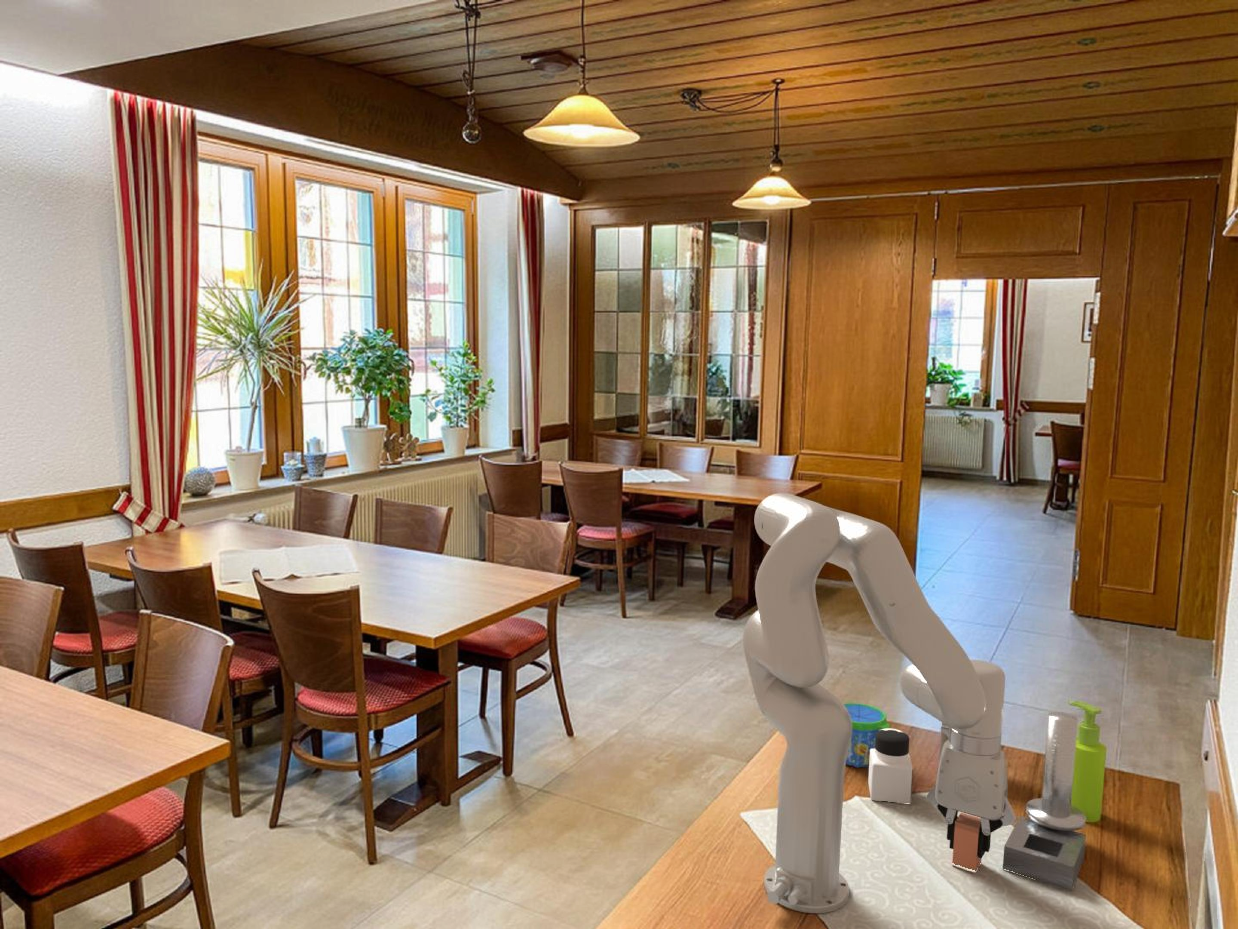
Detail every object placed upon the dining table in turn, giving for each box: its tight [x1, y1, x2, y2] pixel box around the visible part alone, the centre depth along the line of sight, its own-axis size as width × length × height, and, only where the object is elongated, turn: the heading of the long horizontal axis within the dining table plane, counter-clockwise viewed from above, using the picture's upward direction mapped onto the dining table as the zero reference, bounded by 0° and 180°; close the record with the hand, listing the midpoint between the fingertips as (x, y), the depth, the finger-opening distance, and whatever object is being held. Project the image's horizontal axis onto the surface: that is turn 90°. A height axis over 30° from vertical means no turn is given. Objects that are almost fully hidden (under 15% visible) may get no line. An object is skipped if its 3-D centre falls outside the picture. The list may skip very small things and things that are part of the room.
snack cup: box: [843, 702, 893, 769], centre depth 181 cm, size 16×10×10 cm
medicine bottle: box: [867, 727, 914, 804], centre depth 167 cm, size 7×7×12 cm
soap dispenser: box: [1068, 700, 1107, 823], centre depth 161 cm, size 6×7×20 cm
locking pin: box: [951, 812, 983, 871], centre depth 144 cm, size 4×4×8 cm
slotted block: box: [1002, 711, 1087, 892], centre depth 147 cm, size 18×10×22 cm, turn 145°
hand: (967, 848), depth 144 cm, fingers closed on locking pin, 3 cm apart
